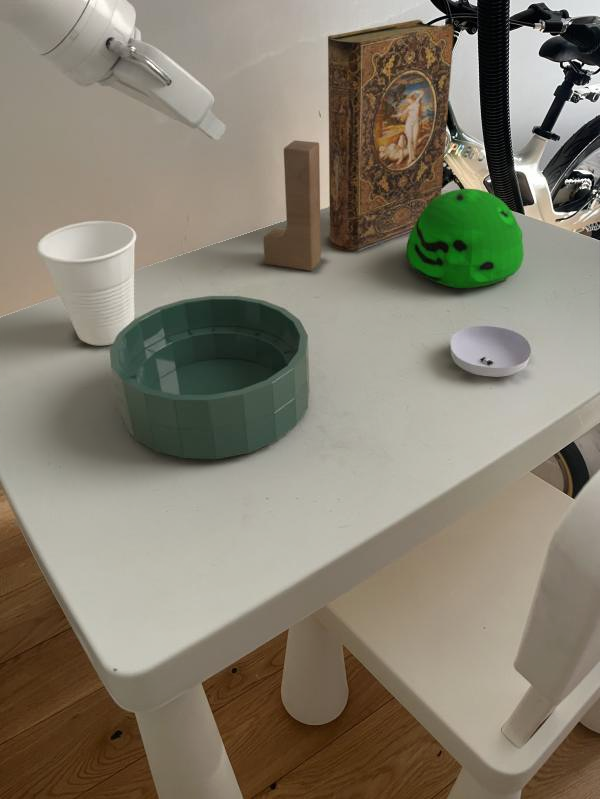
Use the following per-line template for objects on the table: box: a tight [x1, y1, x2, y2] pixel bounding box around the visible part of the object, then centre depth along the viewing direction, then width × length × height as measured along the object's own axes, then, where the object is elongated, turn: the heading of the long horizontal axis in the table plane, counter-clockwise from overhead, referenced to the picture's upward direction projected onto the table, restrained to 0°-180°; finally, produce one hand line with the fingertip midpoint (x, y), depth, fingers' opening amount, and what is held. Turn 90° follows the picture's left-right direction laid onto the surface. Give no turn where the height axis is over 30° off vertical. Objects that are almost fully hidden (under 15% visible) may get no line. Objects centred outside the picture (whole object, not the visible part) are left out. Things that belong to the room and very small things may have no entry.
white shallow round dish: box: [449, 325, 532, 378], centre depth 73 cm, size 8×8×2 cm
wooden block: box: [262, 139, 322, 272], centre depth 89 cm, size 7×3×15 cm, turn 68°
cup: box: [36, 220, 137, 347], centre depth 78 cm, size 10×10×11 cm
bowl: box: [109, 295, 310, 460], centre depth 67 cm, size 17×17×7 cm
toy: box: [405, 188, 524, 289], centre depth 88 cm, size 14×13×10 cm
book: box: [327, 19, 455, 253], centre depth 94 cm, size 16×6×25 cm, turn 128°
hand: (199, 123), depth 78 cm, fingers open, 8 cm apart
